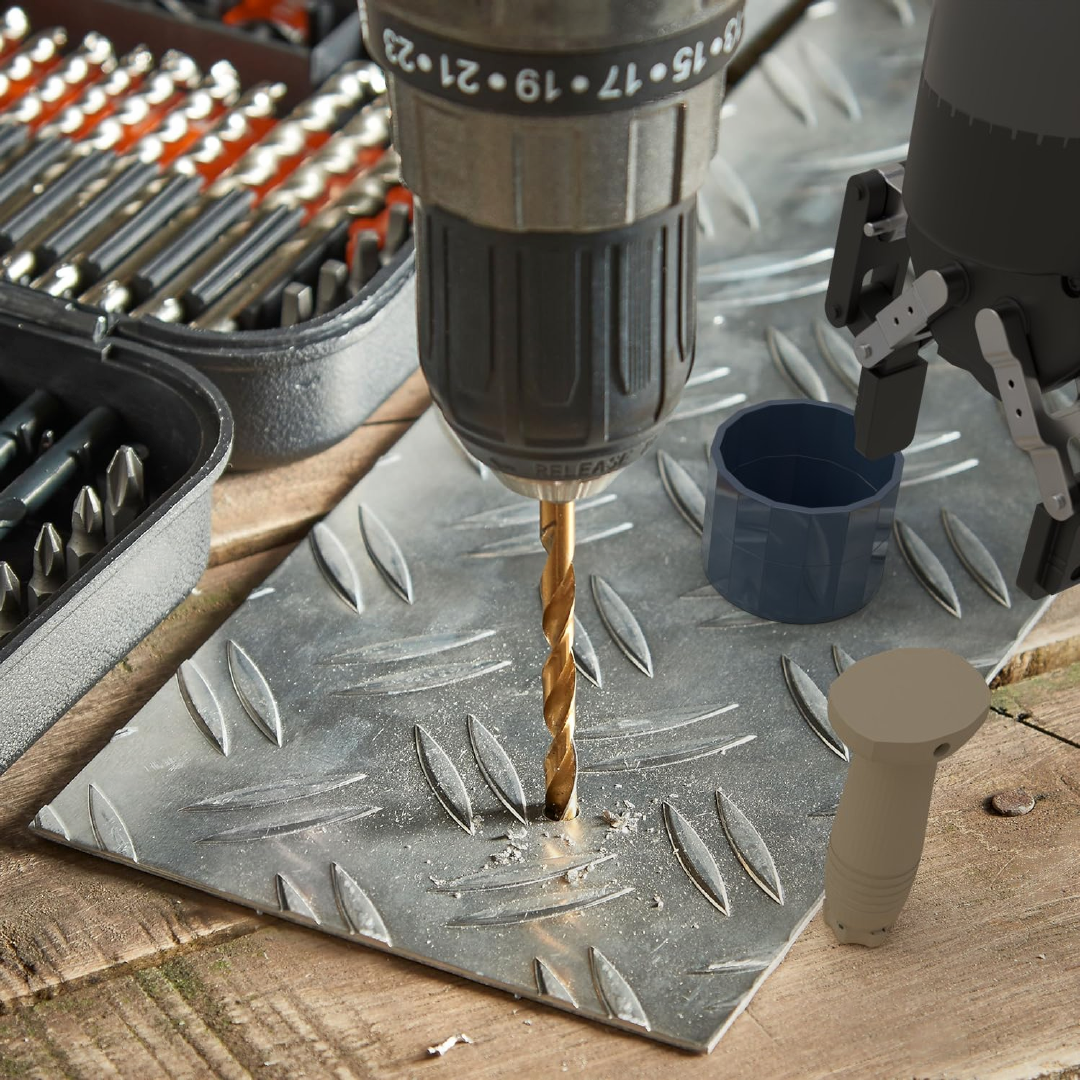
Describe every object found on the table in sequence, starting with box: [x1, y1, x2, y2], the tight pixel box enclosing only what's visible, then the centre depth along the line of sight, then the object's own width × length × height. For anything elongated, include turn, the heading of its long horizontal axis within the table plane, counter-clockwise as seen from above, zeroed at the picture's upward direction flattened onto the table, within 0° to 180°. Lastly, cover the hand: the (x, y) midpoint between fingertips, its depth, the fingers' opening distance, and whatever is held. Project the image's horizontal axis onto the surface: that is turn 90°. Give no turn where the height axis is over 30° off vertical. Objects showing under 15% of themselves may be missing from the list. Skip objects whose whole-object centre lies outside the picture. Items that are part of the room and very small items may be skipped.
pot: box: [700, 397, 906, 625], centre depth 87 cm, size 10×10×8 cm
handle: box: [822, 647, 992, 948], centre depth 65 cm, size 5×6×15 cm
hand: (959, 514), depth 53 cm, fingers open, 8 cm apart
